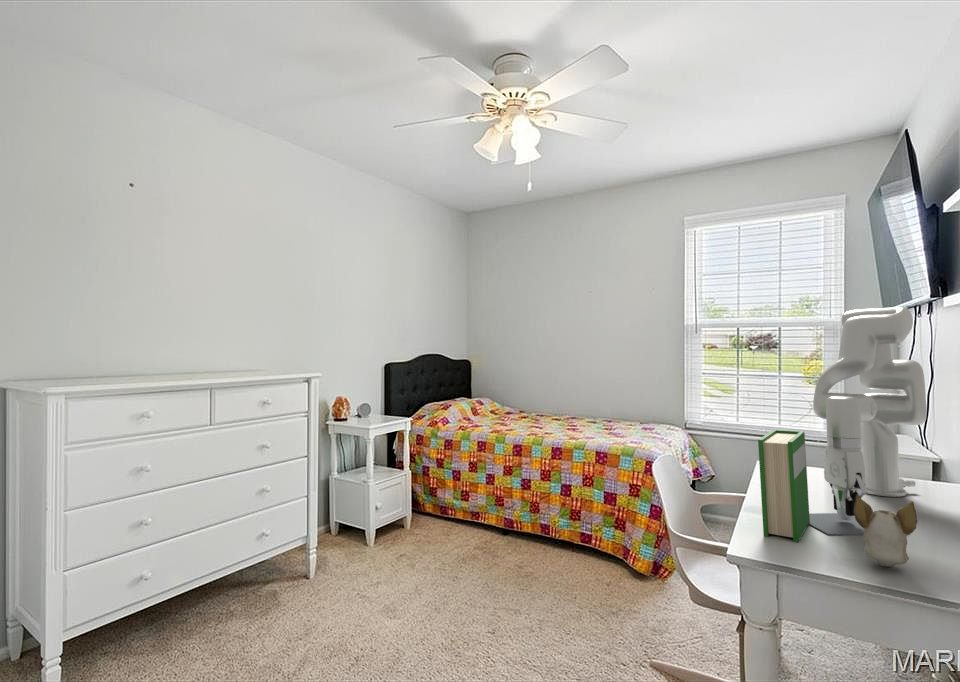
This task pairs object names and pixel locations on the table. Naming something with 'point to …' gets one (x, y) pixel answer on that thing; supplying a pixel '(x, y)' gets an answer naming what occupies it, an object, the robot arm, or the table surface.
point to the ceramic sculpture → (886, 532)
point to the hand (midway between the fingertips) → (846, 511)
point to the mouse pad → (835, 524)
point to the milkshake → (841, 503)
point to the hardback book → (784, 483)
